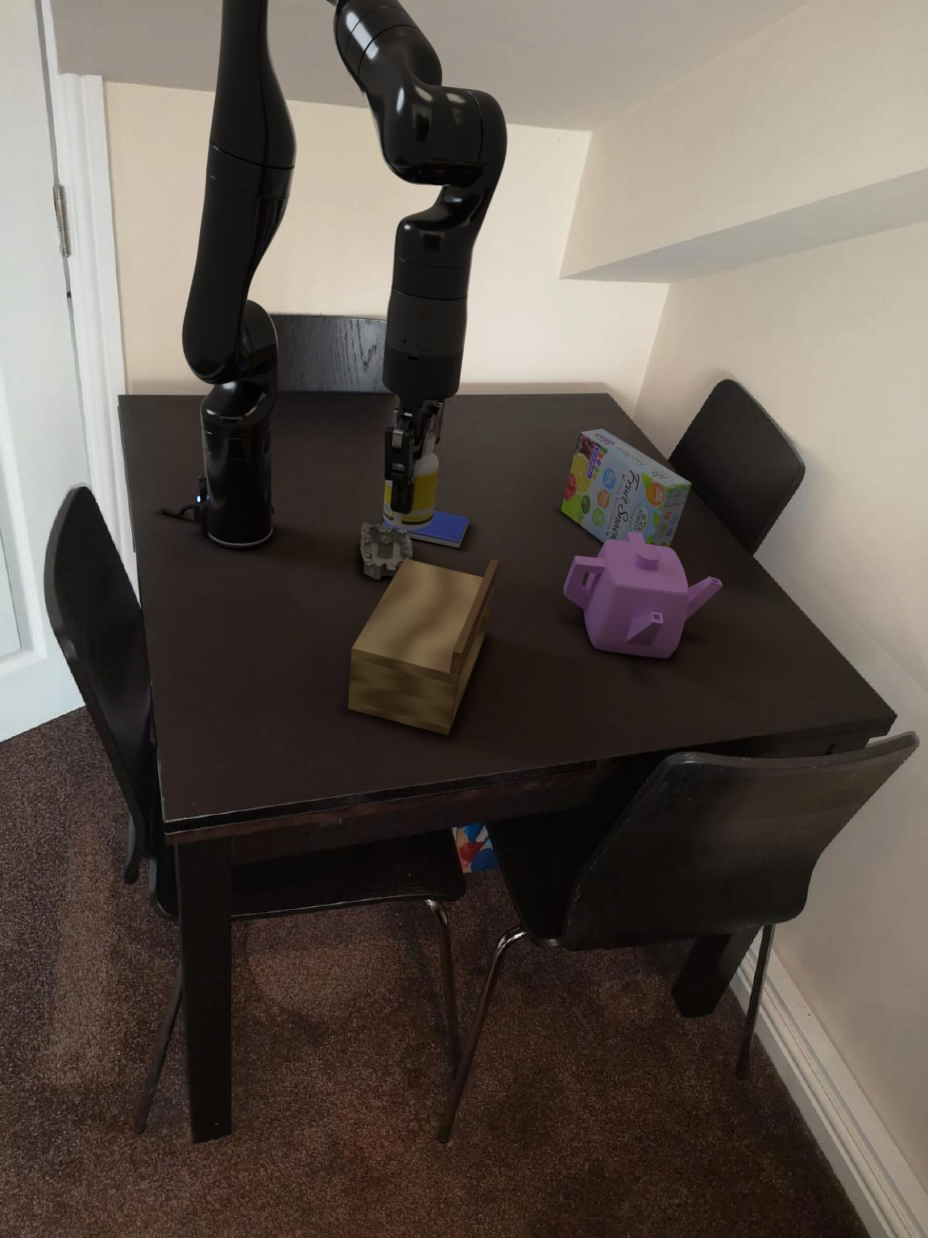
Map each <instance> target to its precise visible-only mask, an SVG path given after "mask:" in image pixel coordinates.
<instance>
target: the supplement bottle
mask: <svg viewBox="0 0 928 1238" xmlns="http://www.w3.org/2000/svg"><path fill="white" fill-rule="evenodd" d="M434 443H435V435H434V434H433V433H432V432H430V434H429V439H428V444H427V449H426V454H425V458H424V459H423V460H420V461H419V464H418V469H417V478H416V480H415V489H414V499H413V509H412V511H411V512H410V513H409V514H407V515H406V514H402V513H398V512H394V511H392V510H391V508H390V503H391V491H392V481H389V480H385V481H384V496H383V509H382V512H383V513H382V515H383V519H384V521H385V520H386V522H387V523H389V524H390V525H392V526H394V527H397V528H400V529H406V530H418V529H422V528H425V527H427V526H428V525H429V524H430V523H431V522H432V519H433V513H434V511H435V503H436V496H437V495H436V493H437V485H438V476H439V467H440V466H439V465H440V463H439V461H440V460H439V458H438V456H437V455H436V454H435V453H433V452H432V451H433V449H434ZM418 449H419V446H413V451H417V450H418ZM399 468H403V469H404V466H403V465H401V464H399Z"/></svg>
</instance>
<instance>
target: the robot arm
mask: <svg viewBox="0 0 928 1238" xmlns="http://www.w3.org/2000/svg"><path fill="white" fill-rule="evenodd" d="M221 1H222V2H221V26H220V27H221V28H220V41H219V43H220V44H219V55H218V65H217V75H216V86H215V93H214V100H213V109H212V116H211V124H210V129H209V138H208V146H207V155H206V156H207V157H206V165H205V180H204V181H205V183H204V193H203V197H204V198H203V204H202V211H201V219H200V226H199V234H198V244H197V251H196V259H195V264H194V269H193V275H192V278H191V284H190V288H189V293H188V297H187V302H186V307H185V310H184V316H183V320H182V328H181V344H182V345H181V346H182V351H183V356H184V358H185V361H186V363H187V366H188V367H189V369H190V371H191V372H192V373H193V375H195V377H196V378H197V379H198V380H200V381H201V382H203V383H204V384H208V385H213V387H212V388H211V390H210V391H209V393H208V394H207V395H206V396H205V397H204V398H203V399H202V401H201V403H200V406H199V421H200V436H201V449H202V464H203V465H202V466H203V472H202V473H201V474H200V475H198V478H197V483H198V496H197V499H196V500H195V502H194V503H188V504H185V505H183V506H181V508H180V509H179V511H175V510H172V509H169V508H166V507H163V506H162V507H161V508H160V512H161V513H162V514H163V513H164V514H165V515H168V516H171V517H175V518H179V517H182V516H184V514H185V513H186V511H188V510H192V511H193V521H194V522H198V523H200V526H201V535H202V537H203V536H204V537H207V538H208V539H209V540H210V541H211V542H212V543H213V544H215V545H217V546H219V547H223V548H226V549H233V550H246V549H253V548H257V547H260V546H263V545H264V544H266V543H267V542H269V541H270V540H271V539H272V537H273V518H272V516H274V512H275V511H274V506H273V505H272V502H273V501H272V443H271V440H272V438H271V437H272V436H271V433H272V431H271V430H272V429H271V425H272V424H271V423H272V422H271V418H272V414H273V412H274V409H275V407H276V403H277V397H278V396H277V395H278V376H279V375H278V371H279V341H278V334H277V331H276V326H275V324H274V322H273V320H272V317H271V316H270V315H269V313H268V311H267V310H266V309H265V308H264V307H263V306H262V305H260V303H258V302H257V301H255V300H252V299H248V297H249V292H250V288H251V285H252V281H253V279H254V276H255V274H256V272H257V270H258V268H259V266H260V264H261V263H262V260H263V258H264V256H265V255H266V253H267V251H268V249H269V248H270V246H271V245H272V242H273V240H274V239H275V237H276V235H277V234H278V231H279V229H280V227H281V225H282V222H283V220H284V218H285V216H286V214H287V213H286V212H287V209H288V206H289V202H290V197H291V192H292V187H293V181H294V174H295V168H296V165H297V154H298V140H297V134H296V130H295V126H294V123H293V119H292V116H291V111H290V110H289V106H288V103H287V101H286V98H285V95H284V92H283V89H282V86H281V83H280V81H279V78H278V74H277V71H276V69H275V66H274V65H275V64H274V61H273V56H272V53H271V47H270V38H269V37H270V36H269V34H270V33H269V6H270V0H221ZM323 1H324V2H325V3H326V4H328V6H330V7H331V8H332V9H333V10H334V14H333V22H332V23H333V24H332V26H333V27H332V33H333V34H332V35H333V42H334V47H335V50H336V53H337V56H338V58H339V61H340V63H341V65H342V67H343V69H344V70H345V72H346V74H347V75H348V77H349V79H350V80H351V81H352V83H353V84H354V85H355V87H356V89H357V90H358V92H359V93H360V94H361V96H362V97H363V99H364V101H365V102H366V103H367V105H368V109H369V112H370V116H371V119H372V123H373V126H374V130H375V133H376V134H375V135H376V137H377V142H378V147H379V151H380V154H381V157H382V160H383V162H384V164H385V165H386V167H387V168H388V169H389V171H391V173H393V174H394V176H396V177H397V178H399V179H400V180H402V181H404V182H406V183H408V184H411V185H416V186H434V187H437V186H438V187H441V188H440V191H439V193H438V195H437V197H436V200H435V201H434V202H433V204H432V205H431V206H429V207H428V208H427V209H424V210H422V211H418V212H415V213H411V214H408V215H406V216H404V217H402V218H401V219H400V220H399V222H397V225H396V229H395V234H394V243H393V257H392V258H393V259H392V272H391V273H392V274H391V286H390V292H389V298H388V302H387V307H386V314H385V315H386V317H385V330H384V331H385V333H384V347H383V360H382V377H381V380H382V384H383V385H384V387H385V388H386V389H387V390H388V391H390V392H391V393H394V394H395V395H396V396H397V397H398V398H399V402H398V406H395V407H394V410H393V415H392V420H391V423H392V424H393V426H392V425H387V426H386V427H385V430H384V474H383V476H384V480H385V481H386V480H389V481H392V491H391V503H390V508H391V510H392V511H394V512H398V513H402V514H406V515H407V514H409V513H410V512H411V511H412V509H413V499H414V489H415V480H416V478H417V469H418V464H419V461H420V460H423V459H424V458H425V454H426V449H427V444H428V439H429V434H430V432H432V433H433V434H434V435H435V443H434V449H433V451H432V452H433V453H434V454H435V453H436V445H437V446H438V444H439V443H440V441H441V431H442V426H443V419H444V413H445V406H446V401H447V400H448V399H449V398H452V397H454V396H455V395H456V394H457V393H458V391H459V389H460V384H461V376H462V367H463V360H464V351H465V345H466V336H467V329H468V303H469V301H468V299H469V291H470V290H469V289H470V282H471V274H472V265H473V264H472V263H473V259H474V258H473V256H474V250H475V246H476V244H477V240H478V237H479V235H480V232H481V231H482V228H483V225H484V222H485V219H486V216H487V214H488V211H489V208H490V206H491V204H492V201H493V197H494V195H495V192H496V190H497V187H498V185H499V182H500V180H501V177H502V174H503V171H504V167H505V164H506V158H507V154H508V144H509V140H508V139H509V137H508V127H507V126H508V125H507V120H506V116H505V114H504V111H503V108H502V107H501V106H502V105H500V103H499V101H498V100H497V99H496V98H495V97H494V96H493V95H491V94H490V93H488V92H486V91H483V90H480V89H472V88H464V87H455V86H446V85H443V82H444V81H443V80H444V74H443V68H442V67H443V66H442V63H441V60H440V57H439V56H438V53H437V52H436V50H435V48H434V46H433V45H432V43H431V42H430V40H429V39H428V37H426V35H425V33H424V32H423V31H422V30H421V28H420V27H419V26H418V25H417V23H416V22H415V21H414V19H413V18H412V16H411V15H410V14H409V12H407V10H406V9H405V8H404V6H403V5H402V4H401V2H400V0H323ZM413 446H419V449H418V450H417V451H413ZM399 464H401V465H403V466H404V469H403V468H399Z"/></svg>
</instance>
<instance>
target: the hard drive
mask: <svg viewBox="0 0 928 1238" xmlns="http://www.w3.org/2000/svg"><path fill="white" fill-rule="evenodd" d="M469 522H470V517H466V516H461V515H456V514H451V513H447V512H443V511H442V512H441V511H438V510H434V513H433V519H432V522H431V523H430V524H429V525H428V526H427V527H425V528H422V529H418V530H406V531H407V536H409V538H410V539H414V540H419V541H424V542H428V543H433V544H438V545H441V546H446V547H452V548H457V549H459V548H460V547H461V544H462V541H463V539H464V536H465V534H466V532H467V529H468V526H469ZM383 525H385V526H388V527H391V526H392V525H390V524H389V523H387V522H386V520H385V519H384V521H383V523H382V524H381V526H383ZM395 529H397V530H401V529H400V528H397V527H395Z"/></svg>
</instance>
